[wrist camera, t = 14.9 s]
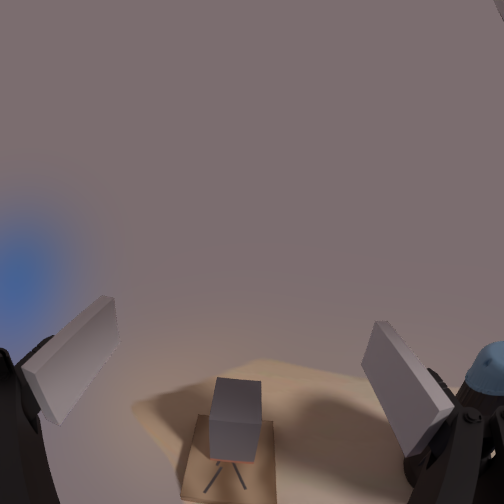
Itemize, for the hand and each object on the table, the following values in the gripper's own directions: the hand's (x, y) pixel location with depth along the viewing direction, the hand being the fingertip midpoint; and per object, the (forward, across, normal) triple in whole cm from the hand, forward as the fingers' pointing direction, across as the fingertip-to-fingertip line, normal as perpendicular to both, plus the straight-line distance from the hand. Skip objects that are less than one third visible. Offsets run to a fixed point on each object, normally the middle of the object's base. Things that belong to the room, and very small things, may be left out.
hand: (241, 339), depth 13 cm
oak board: (+11, 0, -30) cm, 32 cm away
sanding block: (+14, 0, -28) cm, 31 cm away
